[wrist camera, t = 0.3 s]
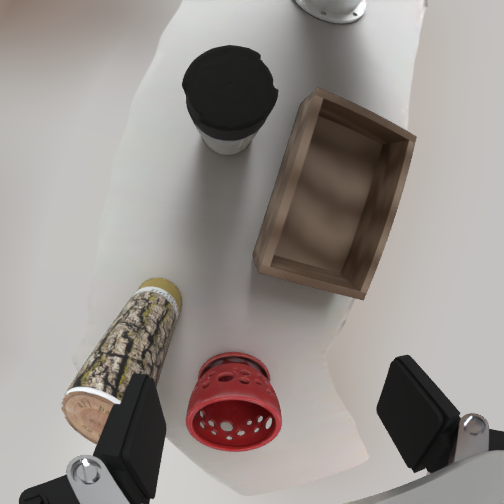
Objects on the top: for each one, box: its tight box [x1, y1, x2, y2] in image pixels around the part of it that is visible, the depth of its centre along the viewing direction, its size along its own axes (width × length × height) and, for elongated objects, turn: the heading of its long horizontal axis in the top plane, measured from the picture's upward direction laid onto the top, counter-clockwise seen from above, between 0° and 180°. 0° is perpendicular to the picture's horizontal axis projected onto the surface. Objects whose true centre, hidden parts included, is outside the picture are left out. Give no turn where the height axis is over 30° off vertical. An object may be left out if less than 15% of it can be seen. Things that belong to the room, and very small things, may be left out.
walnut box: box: [253, 87, 416, 300], centre depth 35 cm, size 22×14×8 cm, turn 163°
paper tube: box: [61, 278, 182, 444], centre depth 29 cm, size 7×7×25 cm
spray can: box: [182, 45, 278, 155], centre depth 26 cm, size 7×7×20 cm
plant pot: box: [186, 352, 282, 452], centre depth 39 cm, size 13×13×12 cm
